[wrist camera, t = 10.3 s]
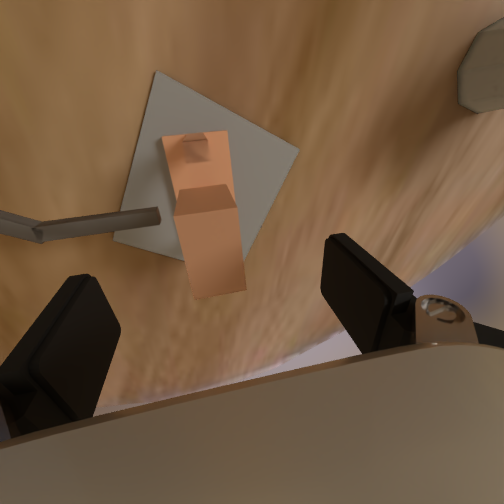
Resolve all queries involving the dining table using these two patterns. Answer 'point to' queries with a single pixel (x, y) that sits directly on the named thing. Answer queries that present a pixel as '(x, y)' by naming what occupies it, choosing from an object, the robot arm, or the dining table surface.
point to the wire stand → (76, 224)
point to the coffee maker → (483, 71)
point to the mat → (242, 162)
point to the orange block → (206, 212)
